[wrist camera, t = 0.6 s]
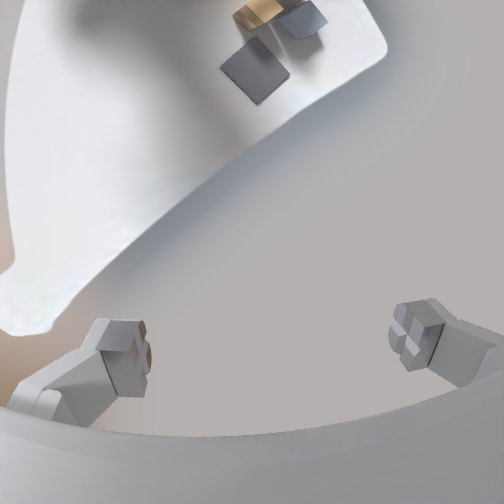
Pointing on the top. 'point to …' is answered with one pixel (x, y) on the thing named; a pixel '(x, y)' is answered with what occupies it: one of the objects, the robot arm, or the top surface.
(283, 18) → the blue-grey cube
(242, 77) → the charcoal mat
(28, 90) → the top surface
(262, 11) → the oak block
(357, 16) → the top surface
